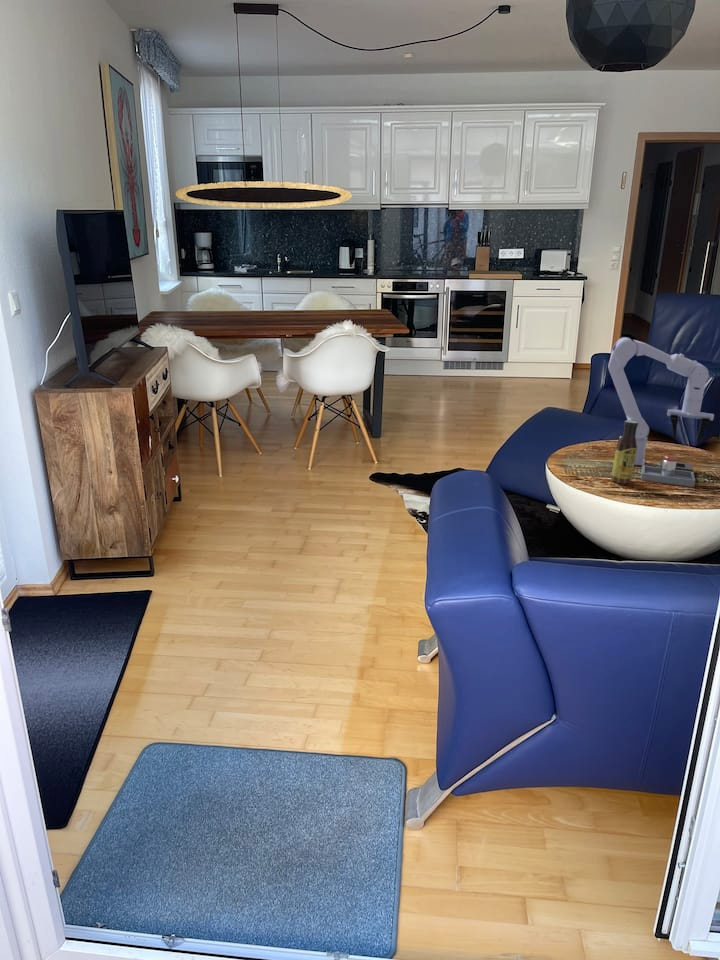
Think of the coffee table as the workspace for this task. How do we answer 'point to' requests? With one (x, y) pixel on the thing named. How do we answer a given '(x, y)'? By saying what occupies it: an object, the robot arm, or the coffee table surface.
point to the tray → (679, 476)
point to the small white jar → (668, 465)
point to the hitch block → (681, 466)
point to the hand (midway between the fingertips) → (686, 438)
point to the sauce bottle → (625, 454)
